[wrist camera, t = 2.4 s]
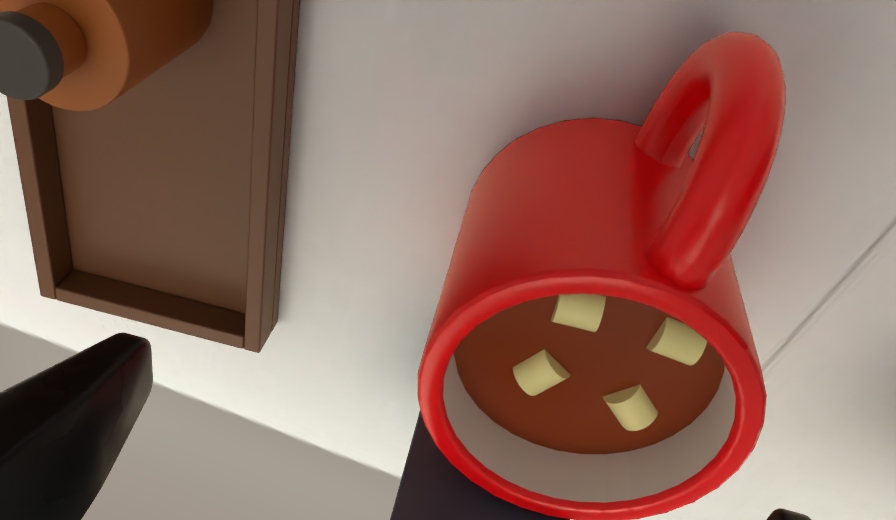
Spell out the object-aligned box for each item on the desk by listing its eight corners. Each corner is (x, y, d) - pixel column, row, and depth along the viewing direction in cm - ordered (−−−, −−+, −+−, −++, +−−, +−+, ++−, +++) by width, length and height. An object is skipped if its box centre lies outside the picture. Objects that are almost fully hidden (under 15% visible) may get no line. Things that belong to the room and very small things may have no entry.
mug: (863, 45, 19) (1001, 191, 12) (643, 362, 26) (659, 561, 19) (579, -70, 18) (569, 18, 12) (433, 282, 25) (377, 458, 19)
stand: (577, 337, 26) (565, 669, 16) (542, 425, 28) (515, 754, 19) (449, 304, 26) (363, 614, 16) (427, 395, 28) (342, 707, 19)
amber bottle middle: (213, -63, 19) (80, -5, 14) (212, 65, 22) (97, 156, 17) (83, -95, 20) (-92, -47, 15) (95, 36, 22) (-55, 117, 17)
